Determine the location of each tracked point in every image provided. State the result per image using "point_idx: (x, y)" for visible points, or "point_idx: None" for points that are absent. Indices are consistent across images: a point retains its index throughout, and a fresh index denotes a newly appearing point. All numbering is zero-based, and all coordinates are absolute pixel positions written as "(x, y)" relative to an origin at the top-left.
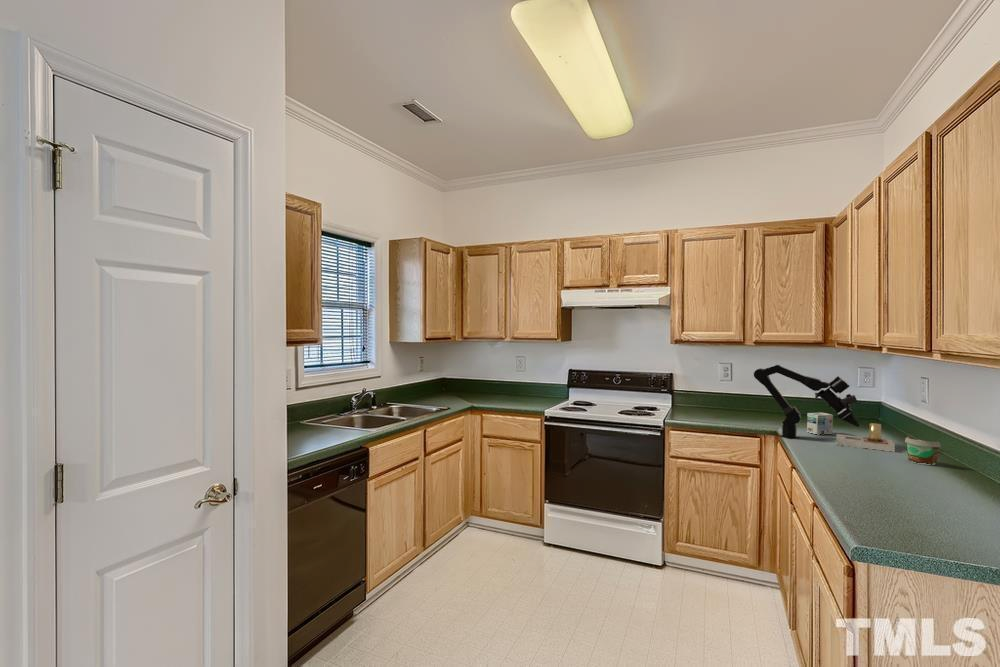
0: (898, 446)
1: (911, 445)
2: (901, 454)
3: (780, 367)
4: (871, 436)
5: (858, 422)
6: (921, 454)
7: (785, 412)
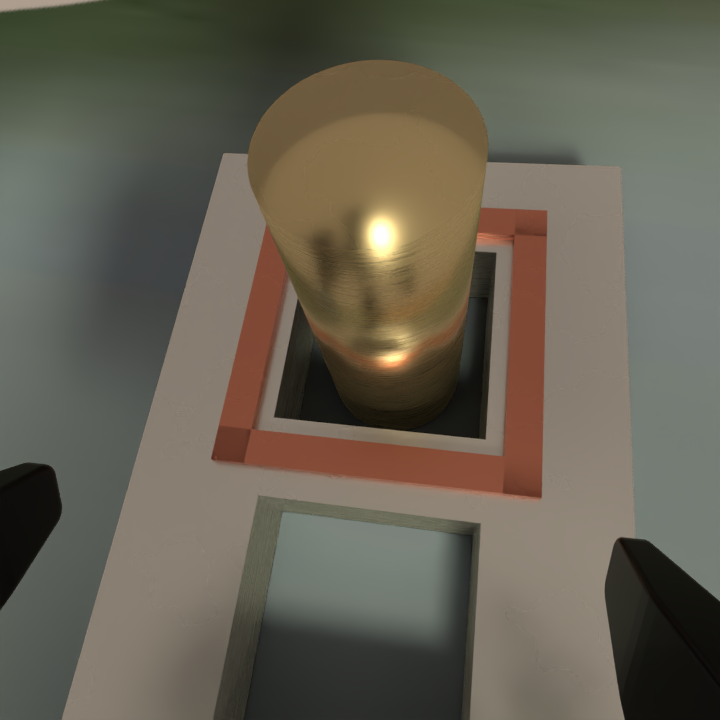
0: (228, 151)
1: None
2: (684, 181)
3: None
4: (442, 355)
5: (49, 470)
6: None
7: None
